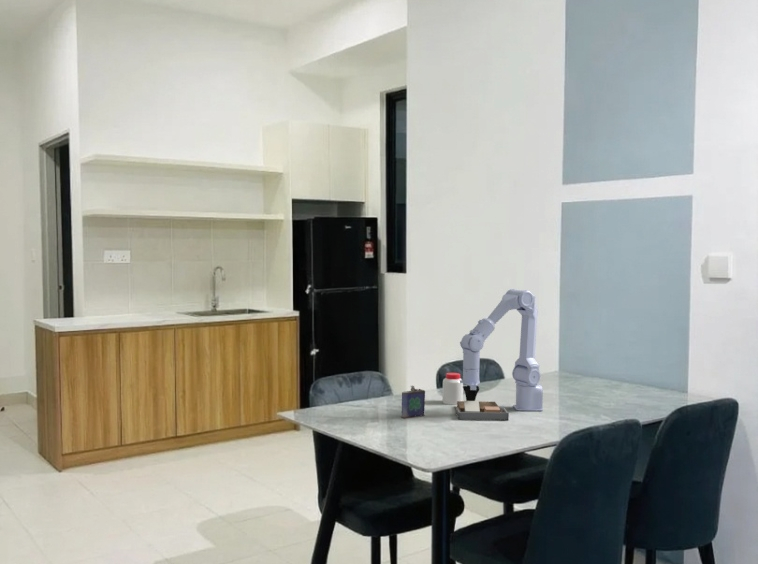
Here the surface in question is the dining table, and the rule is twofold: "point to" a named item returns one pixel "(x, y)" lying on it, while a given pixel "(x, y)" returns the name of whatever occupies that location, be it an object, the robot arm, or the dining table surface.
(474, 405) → the tile cream
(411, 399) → the flask
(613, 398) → the dining table surface
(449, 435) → the dining table surface
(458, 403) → the board
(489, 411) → the tile terracotta
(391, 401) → the dining table surface
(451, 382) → the pill bottle
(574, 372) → the dining table surface
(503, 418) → the tray
